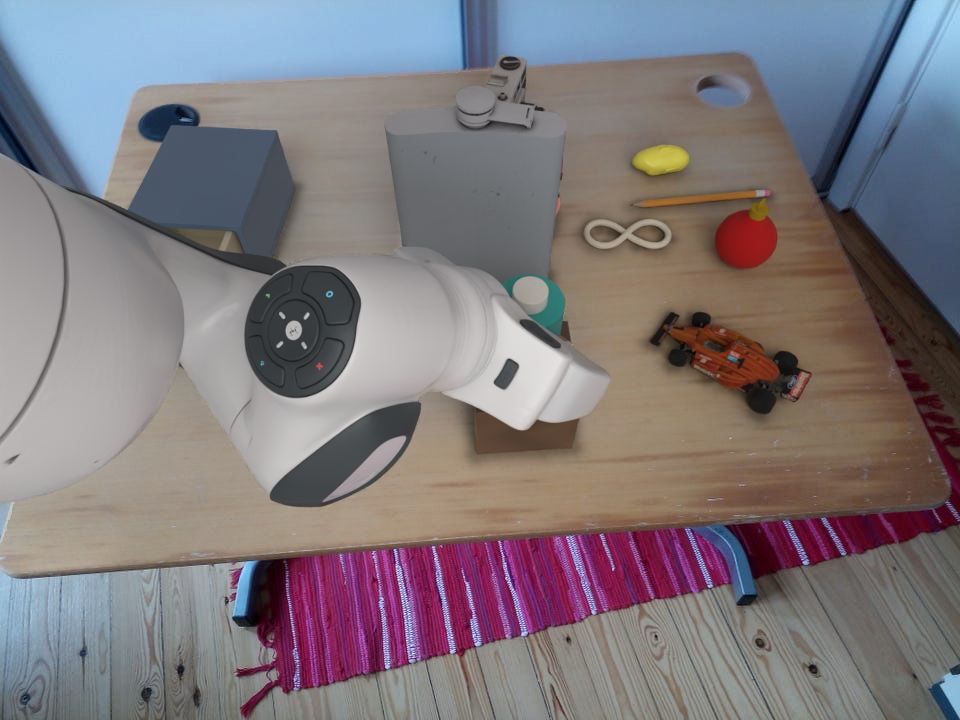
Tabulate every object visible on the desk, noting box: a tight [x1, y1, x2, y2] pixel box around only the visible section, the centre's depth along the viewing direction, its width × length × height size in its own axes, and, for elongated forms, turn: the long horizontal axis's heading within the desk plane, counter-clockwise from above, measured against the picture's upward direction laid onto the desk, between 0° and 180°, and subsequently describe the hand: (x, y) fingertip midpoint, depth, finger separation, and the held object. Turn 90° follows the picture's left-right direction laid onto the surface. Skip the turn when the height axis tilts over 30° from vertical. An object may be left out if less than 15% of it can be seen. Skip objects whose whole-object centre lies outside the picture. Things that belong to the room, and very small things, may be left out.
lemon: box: [631, 144, 691, 176], centre depth 91 cm, size 4×8×4 cm, turn 92°
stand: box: [472, 320, 580, 455], centre depth 69 cm, size 10×10×9 cm
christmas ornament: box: [714, 197, 779, 270], centre depth 80 cm, size 7×7×10 cm
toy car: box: [649, 311, 813, 415], centre depth 74 cm, size 8×16×4 cm, turn 53°
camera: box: [484, 54, 547, 112], centre depth 92 cm, size 14×9×10 cm, turn 156°
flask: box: [383, 85, 567, 284], centre depth 72 cm, size 17×5×25 cm, turn 88°
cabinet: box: [127, 124, 296, 258], centre depth 83 cm, size 17×14×10 cm
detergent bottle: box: [502, 274, 566, 336], centre depth 60 cm, size 6×6×12 cm
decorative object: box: [582, 218, 672, 250], centre depth 86 cm, size 11×1×5 cm
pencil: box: [630, 188, 771, 209], centre depth 89 cm, size 1×1×19 cm
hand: (531, 325), depth 60 cm, fingers closed on detergent bottle, 6 cm apart
